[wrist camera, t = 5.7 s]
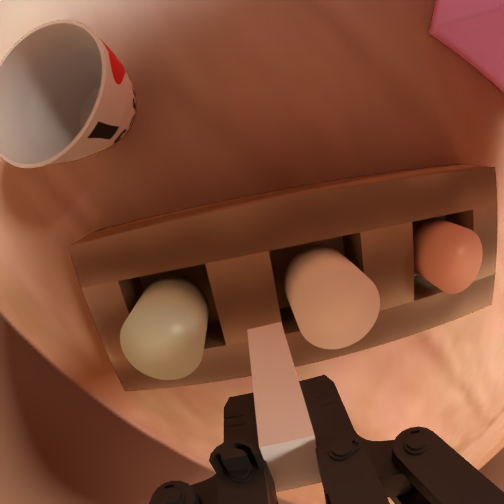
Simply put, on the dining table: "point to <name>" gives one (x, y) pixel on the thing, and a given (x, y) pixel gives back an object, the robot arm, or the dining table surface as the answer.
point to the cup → (62, 96)
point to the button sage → (166, 329)
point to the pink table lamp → (473, 33)
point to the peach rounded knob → (330, 298)
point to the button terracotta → (446, 254)
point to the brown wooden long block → (279, 256)
